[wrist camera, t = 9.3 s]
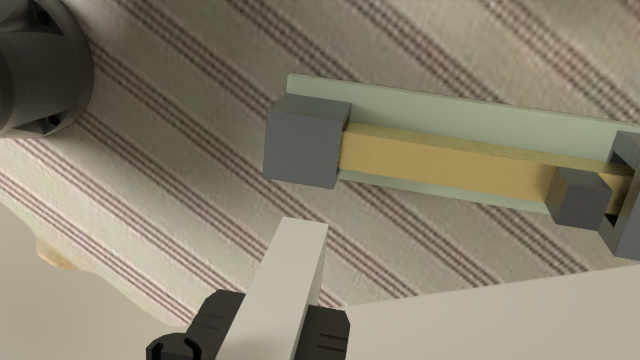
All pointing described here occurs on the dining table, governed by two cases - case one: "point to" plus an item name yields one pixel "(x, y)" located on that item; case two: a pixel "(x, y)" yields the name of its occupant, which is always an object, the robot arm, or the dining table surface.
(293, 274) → the robot arm
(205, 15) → the dining table surface
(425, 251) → the dining table surface
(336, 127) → the guide sleeve
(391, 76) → the dining table surface
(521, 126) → the base plank
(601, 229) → the socket block
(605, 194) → the sliding bolt
